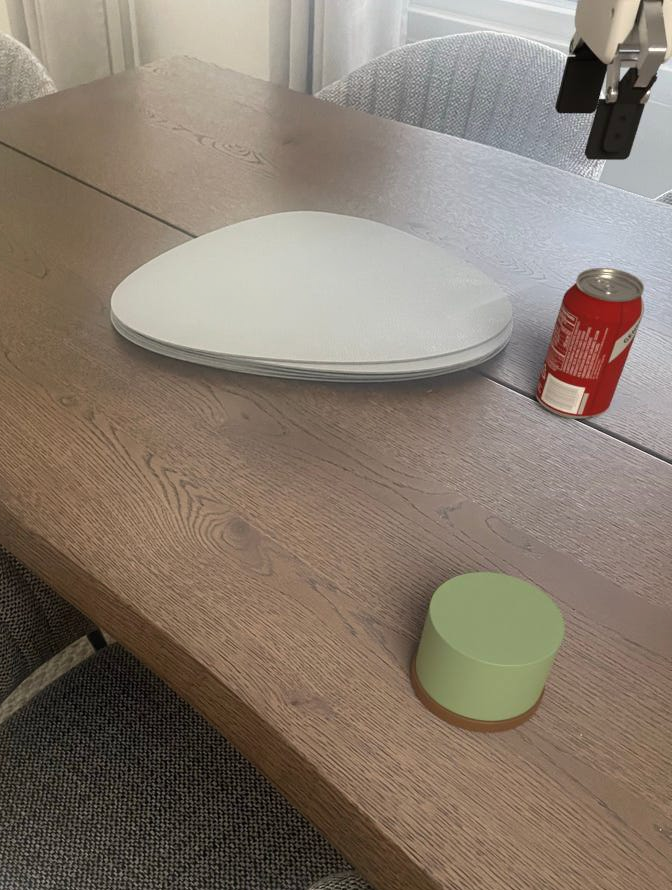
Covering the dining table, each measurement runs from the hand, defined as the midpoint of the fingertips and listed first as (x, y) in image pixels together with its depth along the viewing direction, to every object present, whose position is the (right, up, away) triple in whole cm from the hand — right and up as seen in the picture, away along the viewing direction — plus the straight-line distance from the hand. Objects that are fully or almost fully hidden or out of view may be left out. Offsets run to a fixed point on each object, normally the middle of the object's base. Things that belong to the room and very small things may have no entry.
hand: (589, 134), depth 76 cm
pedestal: (-11, -43, -8) cm, 45 cm away
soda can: (+4, -18, +16) cm, 24 cm away
